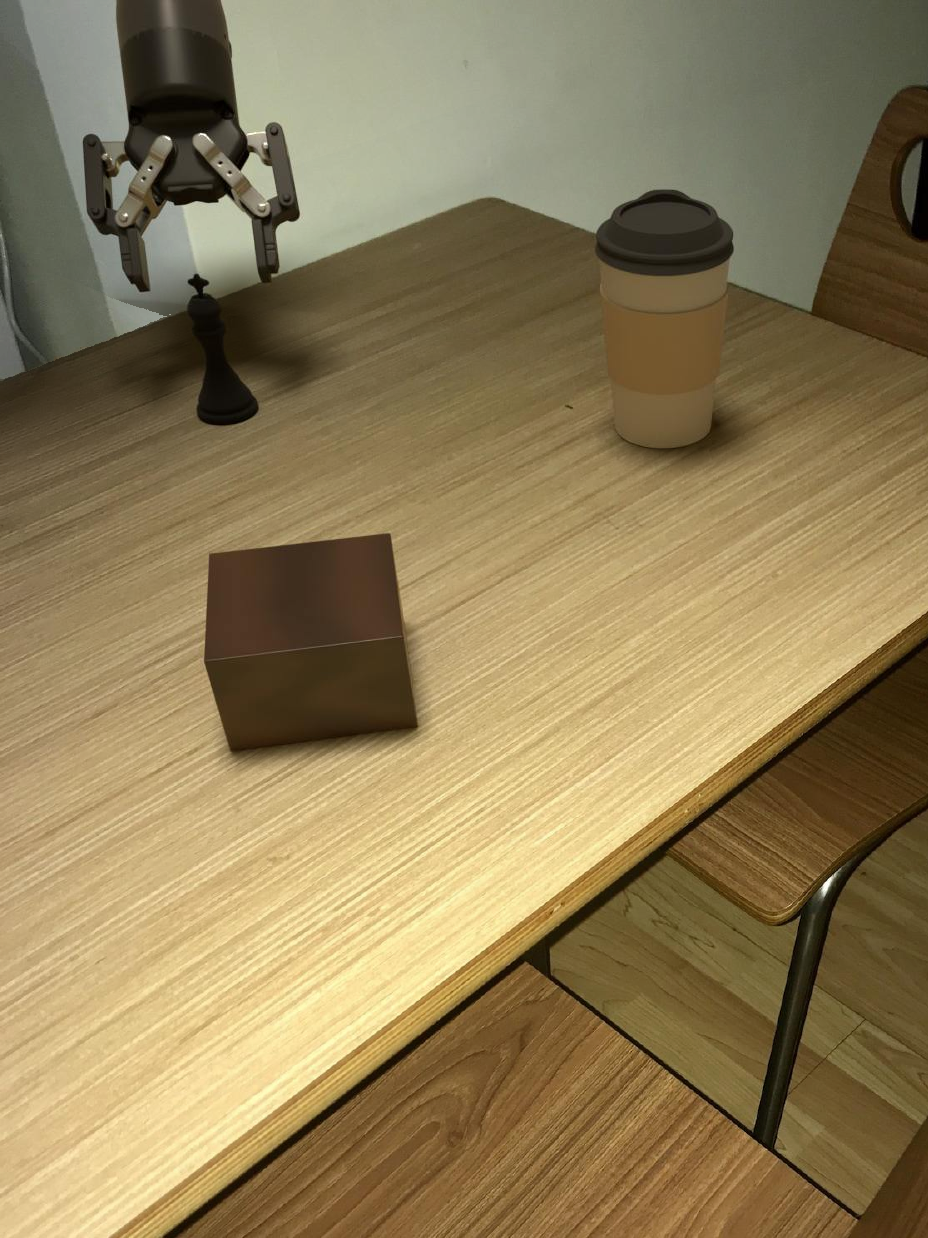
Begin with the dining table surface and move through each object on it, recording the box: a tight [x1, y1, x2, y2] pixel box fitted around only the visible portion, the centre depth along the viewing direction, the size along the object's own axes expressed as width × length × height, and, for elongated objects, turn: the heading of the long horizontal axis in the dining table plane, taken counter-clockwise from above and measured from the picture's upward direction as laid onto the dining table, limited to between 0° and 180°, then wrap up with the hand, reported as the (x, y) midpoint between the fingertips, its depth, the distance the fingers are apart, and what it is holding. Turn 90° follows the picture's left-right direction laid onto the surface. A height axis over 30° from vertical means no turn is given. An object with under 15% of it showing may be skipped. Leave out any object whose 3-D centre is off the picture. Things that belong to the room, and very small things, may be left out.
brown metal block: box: [203, 532, 419, 752], centre depth 73 cm, size 10×10×6 cm
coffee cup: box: [594, 188, 735, 449], centre depth 90 cm, size 9×9×15 cm
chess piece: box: [186, 273, 259, 425], centre depth 95 cm, size 4×4×10 cm
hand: (204, 283), depth 94 cm, fingers open, 8 cm apart
